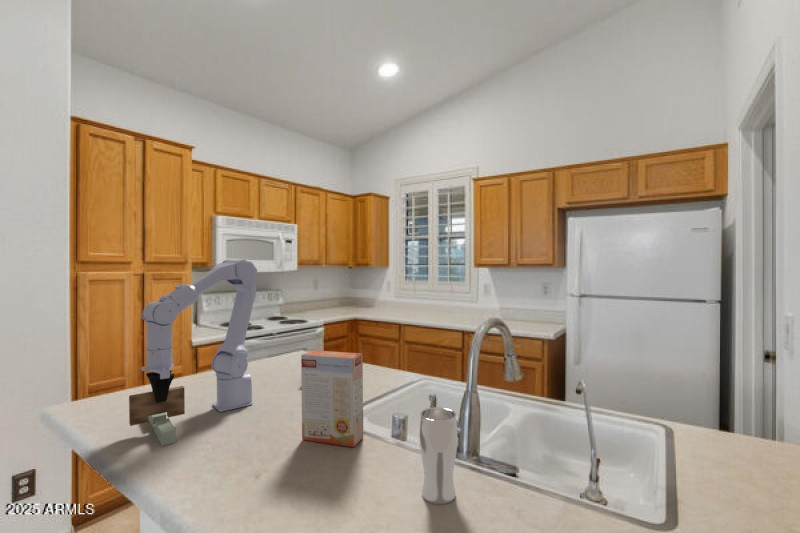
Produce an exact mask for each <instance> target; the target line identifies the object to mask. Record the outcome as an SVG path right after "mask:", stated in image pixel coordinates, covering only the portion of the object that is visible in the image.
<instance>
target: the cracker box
mask: <svg viewBox="0 0 800 533" xmlns="http://www.w3.org/2000/svg"><path fill="white" fill-rule="evenodd" d="M300 361H301V366H300V368H301V371H300V372H301V439H302V440H303V441H309V442H314V443H315V442H316V443H321V444H322V443H323V444H328V445H329V444H330V445H336V446H342V447H343V446H344V447H347V448H348V447H349V448H354V447H355V446H357V445H358V443H360V441H361V440H363V438H364V384H363V383H364V382H363V381H364V375H363V374H364V372H363V371H364V370H363V364H364V363H363V353H360V352H358V353H356V352H346V351H345V352H342V351H331V350H330V351H328V350H316V349H315V350H314V349H313V350H310V351H308V352H305V353H302V354H301V360H300Z"/></svg>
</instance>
